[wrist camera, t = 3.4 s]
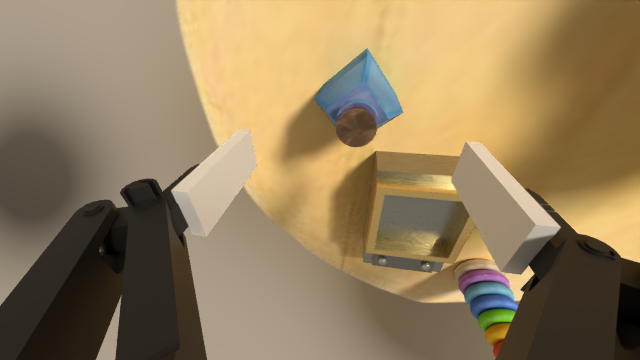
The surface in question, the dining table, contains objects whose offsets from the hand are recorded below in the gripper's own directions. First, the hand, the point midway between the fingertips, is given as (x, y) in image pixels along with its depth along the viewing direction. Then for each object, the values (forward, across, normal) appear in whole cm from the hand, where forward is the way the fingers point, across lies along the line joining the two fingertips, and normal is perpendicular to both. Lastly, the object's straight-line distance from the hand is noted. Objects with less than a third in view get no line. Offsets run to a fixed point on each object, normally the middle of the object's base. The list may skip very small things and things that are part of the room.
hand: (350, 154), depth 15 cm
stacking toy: (+16, +24, -31) cm, 43 cm away
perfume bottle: (+16, 0, 0) cm, 16 cm away
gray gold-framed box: (+16, +9, -17) cm, 25 cm away
